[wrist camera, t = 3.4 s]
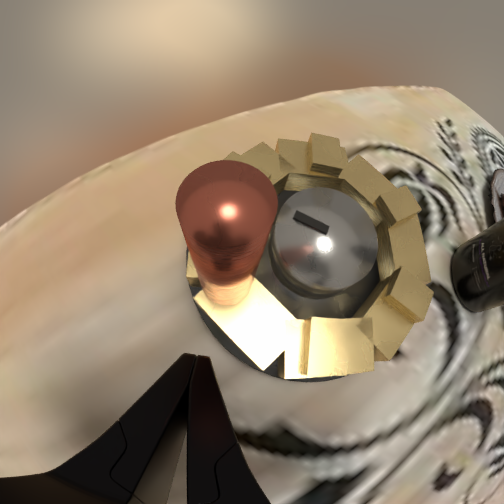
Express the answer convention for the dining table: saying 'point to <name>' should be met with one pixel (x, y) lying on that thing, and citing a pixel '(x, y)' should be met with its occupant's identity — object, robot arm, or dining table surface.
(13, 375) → the dining table surface
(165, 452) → the robot arm
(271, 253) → the flange
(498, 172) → the food plate
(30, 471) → the dining table surface
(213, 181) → the handwheel
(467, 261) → the supplement bottle
